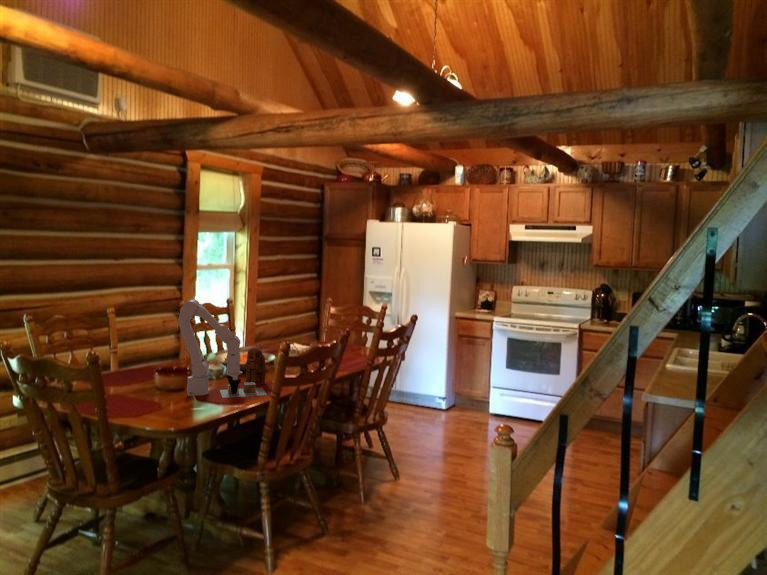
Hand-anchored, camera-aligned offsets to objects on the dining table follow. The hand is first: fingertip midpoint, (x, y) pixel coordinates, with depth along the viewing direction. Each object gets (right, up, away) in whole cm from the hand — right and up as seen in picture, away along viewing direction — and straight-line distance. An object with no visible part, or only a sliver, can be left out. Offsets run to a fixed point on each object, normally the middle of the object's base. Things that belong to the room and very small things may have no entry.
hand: (233, 391), depth 288 cm
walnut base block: (+7, -1, +3) cm, 8 cm away
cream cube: (0, -1, 0) cm, 1 cm away
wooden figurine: (+6, 0, +21) cm, 22 cm away
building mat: (+4, -1, +2) cm, 5 cm away
